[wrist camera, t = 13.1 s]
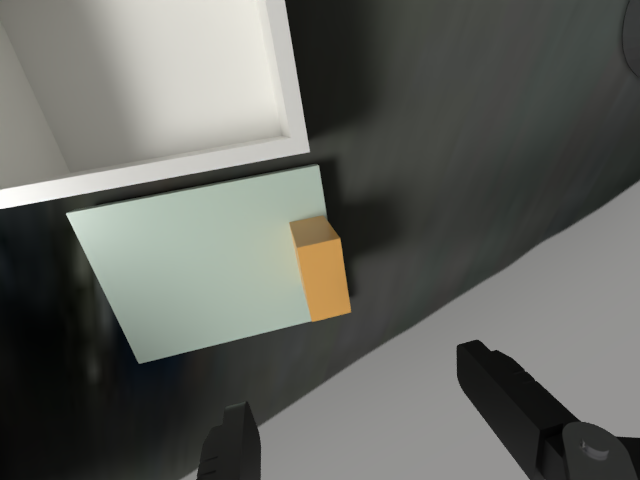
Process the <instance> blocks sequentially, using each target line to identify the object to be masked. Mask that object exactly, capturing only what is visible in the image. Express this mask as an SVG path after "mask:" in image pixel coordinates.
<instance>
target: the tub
mask: <svg viewBox="0 0 640 480" xmlns="http://www.w3.org/2000/svg"><path fill="white" fill-rule="evenodd" d="M307 152H310V150H309V144H308V138H307V132H306V126H305V120H304V114H303V108H302V102H301V96H300V90H299V84H298V78H297V72H296V66H295V60H294V54H293V48H292V42H291V36H290V30H289V24H288V18H287V12H286V6H285V0H0V209H3V208H9V207H14V206H20V205H25V204H30V203H36V202H41V201H47V200H52V199H58V198H63V197H68V196H74V195H79V194H85V193H90V192H95V191H101V190H106V189H112V188H117V187H123V186H128V185H133V184H139V183H144V182H150V181H155V180H161V179H166V178H171V177H177V176H182V175H188V174H193V173H199V172H204V171H209V170H215V169H220V168H226V167H231V166H237V165H242V164H247V163H253V162H258V161H264V160H269V159H274V158H280V157H285V156H291V155H296V154H302V153H307Z"/></svg>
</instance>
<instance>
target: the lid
mask: <svg viewBox="0 0 640 480" xmlns="http://www.w3.org/2000/svg"><path fill="white" fill-rule="evenodd" d="M66 215H67V217H68V219H69V221H70V223H71V225H72V227H73V229H74V231H75V233H76V235H77V237H78V239H79V241H80V243H81V246H82V248H83V250H84V252H85V254H86V256H87V258H88V260H89V262H90V264H91V266H92V268H93V270H94V272H95V274H96V276H97V278H98V281H99V283H100V285H101V287H102V289H103V291H104V293H105V295H106V297H107V299H108V301H109V303H110V305H111V307H112V309H113V311H114V314H115V316H116V318H117V320H118V322H119V324H120V326H121V328H122V330H123V332H124V334H125V336H126V338H127V340H128V342H129V344H130V346H131V349H132V351H133V353H134V355H135V357H136V359H137V361H138V363H139V364H141V363H145V362H149V361H153V360H157V359H161V358H165V357H169V356H173V355H177V354H181V353H185V352H189V351H193V350H197V349H201V348H205V347H209V346H213V345H217V344H221V343H225V342H229V341H233V340H237V339H241V338H245V337H249V336H253V335H257V334H261V333H265V332H269V331H273V330H277V329H281V328H285V327H289V326H293V325H297V324H301V323H305V322H309V321H312V322H314V321H318V320H322V319H326V318H330V317H334V316H338V315H342V314H346V313H350V312H351V308H350V301H349V295H348V288H347V281H346V274H345V267H344V260H343V253H342V247H341V240H340V237H339V236H338V235H337V233H336V232H335V231H334V229H333V228H332V226H331V225H330V224H329V222H328V220H327V213H326V207H325V201H324V195H323V188H322V182H321V176H320V169H319V165H318V164H312V165H307V166H302V167H297V168H291V169H286V170H281V171H276V172H270V173H265V174H260V175H254V176H249V177H244V178H239V179H233V180H228V181H223V182H217V183H212V184H207V185H202V186H196V187H191V188H186V189H181V190H175V191H170V192H165V193H159V194H154V195H149V196H144V197H138V198H133V199H128V200H122V201H117V202H112V203H107V204H101V205H96V206H91V207H86V208H80V209H75V210H73V211H70V212H68V213H66Z"/></svg>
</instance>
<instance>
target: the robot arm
mask: <svg viewBox="0 0 640 480" xmlns="http://www.w3.org/2000/svg"><path fill="white" fill-rule="evenodd" d="M622 37H623V50H624V54H625V57H626V61H627V63H628V65H629V66H630V68H631V70H632V71H633V72H634V73H635V74H636V75H637V76H638V77H640V0H630V2H629V4H628V7H627V11H626V15H625V19H624V26H623V36H622ZM457 378H458V381H459V384H460V386H461V388H462V390H463V391H464V393H465V394H466V396H467V397H468V398H469V400H470V401H471V402H472V403H473V405H474V406H475V407H476V409H477V410H478V411H479V413H480V414H481V415H482V417H483V418H484V419H485V421H486V422H487V423H488V425H489V426H490V427H491V429H492V430H493V431H494V433H495V434H496V435H497V437H498V438H499V439H500V440H501V442H502V443H503V445H504V446H505V447H506V449H507V450H508V451H509V453H510V454H511V455H512V457H513V458H514V459H515V460H516V462H517V463H518V464H519V466H520V467H521V468H522V470H523V471H524V472H525V474H526V475H527V476H528V478H529V479H530V480H640V438H631V437H616V436H614V435H612V434H611V433H610V432H608V431H606V430H605V429H603V428H601V427H599V426H596V425H594V424H590V423H586V422H581V421H580V420H578V419H577V418H576V417H575V416H574V415H573V414H572V413H571V412H569V411H568V410H567V409H566V408H565V407H564V406H563V405H562V404H561V403H560V402H559V401H558V400H557V399H556V398H554V397H553V396H552V395H551V394H550V393H549V392H548V391H547V390H546V389H545V388H544V387H542V385H540V384H539V383H538V382H537V381H535V380H534V378H533V377H532V376H531V375H530V374H529V373H528V372H525V370H524V369H523V368H522V367H521V366H520V365H519V364H518V363H517V362H516V361H515V360H514V359H512V358H511V357H509V356H507V355H505V354H503V353H501V352H499V351H497V350H495V351H490V350H489V349H488V348H487V347H486V346H485V345H484V344H483V343H482V342H481V341H479V340H474V341H470V342H466V343H463V344H459V345H458V346H457ZM260 478H261V443H260V436H259V431H258V428H257V425H256V422H255V420H254V417H253V414H252V411H251V408H250V406H249V403H248V402H247V401H246V402H243V403H239V404H235V405H232V406H228V407H226V408H225V411H224V418H223V424H222V425H221V426H218V427H214V428H212V429H211V431H210V433H209V435H208V436H207V438H206V440H205V442H204V444H203V448H202V453H201V458H200V465H199V468H198V473H197V479H196V480H260Z"/></svg>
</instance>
